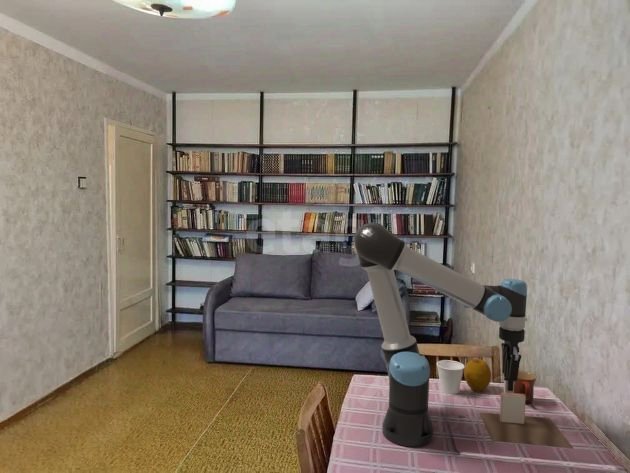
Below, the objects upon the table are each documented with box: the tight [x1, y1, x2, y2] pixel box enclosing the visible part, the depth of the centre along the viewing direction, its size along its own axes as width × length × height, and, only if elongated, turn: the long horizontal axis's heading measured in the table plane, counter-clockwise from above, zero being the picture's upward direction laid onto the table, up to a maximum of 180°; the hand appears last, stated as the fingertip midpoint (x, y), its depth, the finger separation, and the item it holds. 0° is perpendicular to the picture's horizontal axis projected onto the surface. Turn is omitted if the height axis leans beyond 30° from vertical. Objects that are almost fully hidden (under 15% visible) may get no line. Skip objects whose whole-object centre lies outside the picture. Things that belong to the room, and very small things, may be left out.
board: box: [478, 411, 574, 449], centre depth 134 cm, size 22×18×1 cm
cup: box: [436, 359, 466, 395], centre depth 161 cm, size 10×10×11 cm
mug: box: [514, 370, 538, 406], centre depth 153 cm, size 12×9×10 cm
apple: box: [463, 358, 492, 392], centre depth 166 cm, size 10×10×12 cm
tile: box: [499, 391, 526, 424], centre depth 138 cm, size 7×2×9 cm, turn 81°
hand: (508, 398), depth 142 cm, fingers closed
